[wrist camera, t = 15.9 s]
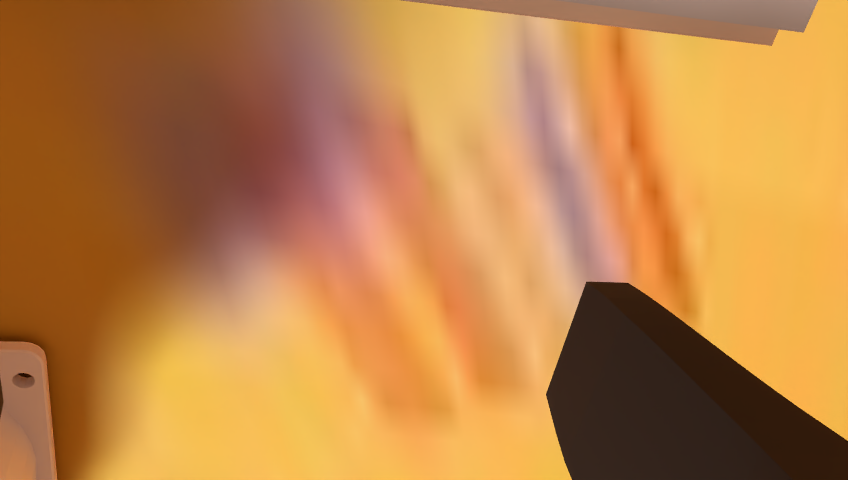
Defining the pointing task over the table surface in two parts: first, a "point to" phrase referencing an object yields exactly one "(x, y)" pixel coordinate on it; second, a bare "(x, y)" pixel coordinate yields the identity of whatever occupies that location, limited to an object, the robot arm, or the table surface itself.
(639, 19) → the walnut board
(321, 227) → the table surface
